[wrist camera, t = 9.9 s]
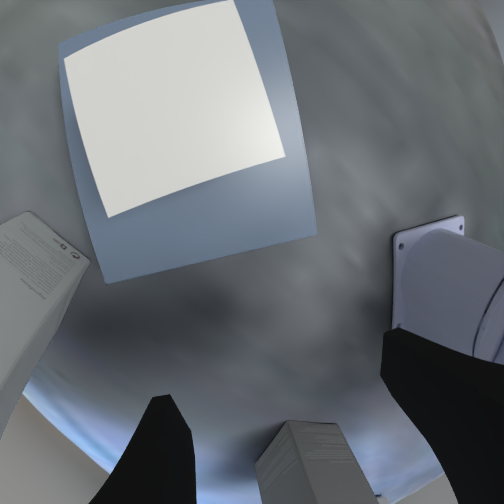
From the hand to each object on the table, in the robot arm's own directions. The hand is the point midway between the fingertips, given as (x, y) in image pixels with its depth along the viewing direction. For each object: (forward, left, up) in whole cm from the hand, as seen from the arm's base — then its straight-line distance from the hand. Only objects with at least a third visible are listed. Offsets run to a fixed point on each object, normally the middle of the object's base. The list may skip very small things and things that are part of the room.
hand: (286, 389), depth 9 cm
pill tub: (+9, +1, -7) cm, 12 cm away
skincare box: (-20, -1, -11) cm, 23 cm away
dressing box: (+9, +1, -11) cm, 14 cm away
